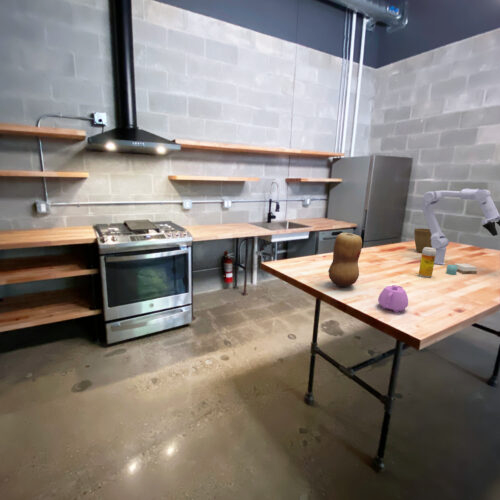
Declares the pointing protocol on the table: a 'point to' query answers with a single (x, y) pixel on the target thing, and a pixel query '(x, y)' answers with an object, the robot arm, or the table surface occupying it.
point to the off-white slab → (466, 267)
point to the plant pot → (422, 239)
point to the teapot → (393, 298)
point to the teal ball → (451, 269)
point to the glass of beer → (427, 262)
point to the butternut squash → (345, 259)
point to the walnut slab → (466, 272)
